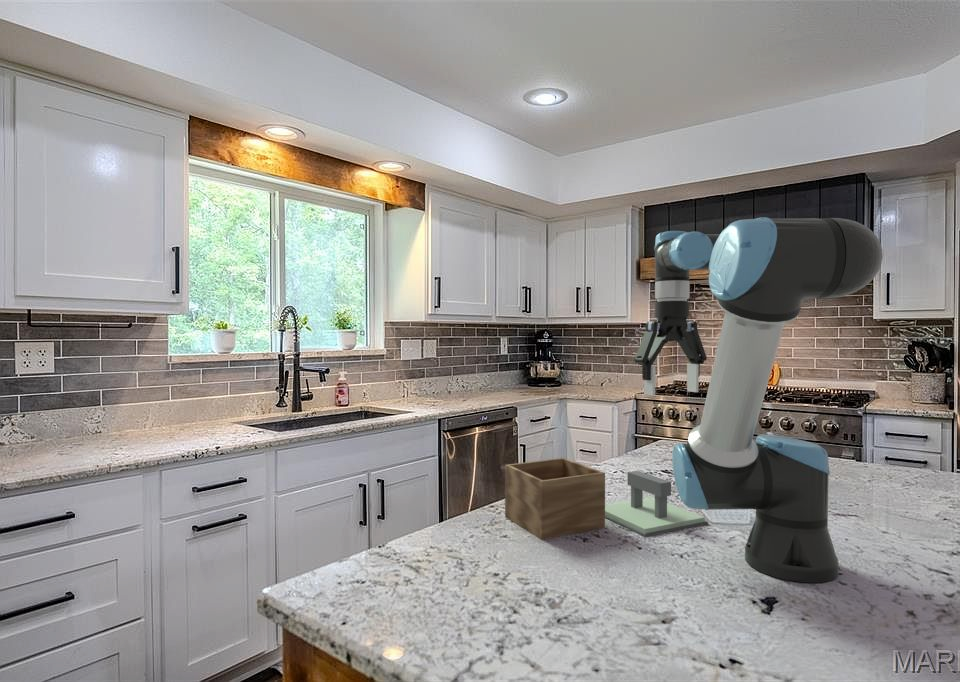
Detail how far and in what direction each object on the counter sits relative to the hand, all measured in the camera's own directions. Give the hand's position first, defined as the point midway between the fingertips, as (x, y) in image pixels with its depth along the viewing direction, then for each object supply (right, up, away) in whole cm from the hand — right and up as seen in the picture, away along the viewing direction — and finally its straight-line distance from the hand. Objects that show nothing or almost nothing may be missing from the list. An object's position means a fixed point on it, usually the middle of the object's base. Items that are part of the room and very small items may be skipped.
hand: (671, 393), depth 136 cm
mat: (-6, -28, -1) cm, 29 cm away
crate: (-28, -28, -4) cm, 40 cm away
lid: (-6, -28, -1) cm, 28 cm away
